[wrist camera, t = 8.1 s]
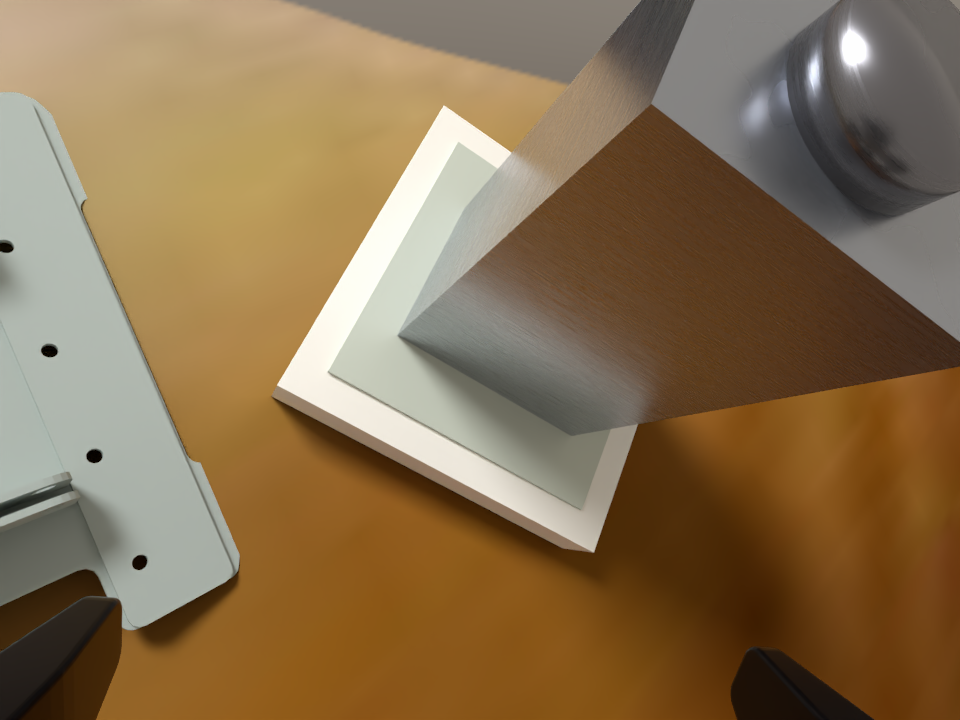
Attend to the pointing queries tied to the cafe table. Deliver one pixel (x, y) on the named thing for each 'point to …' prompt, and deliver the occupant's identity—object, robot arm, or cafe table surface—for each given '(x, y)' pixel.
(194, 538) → the metal bracket
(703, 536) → the cafe table surface
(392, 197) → the plinth
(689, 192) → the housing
